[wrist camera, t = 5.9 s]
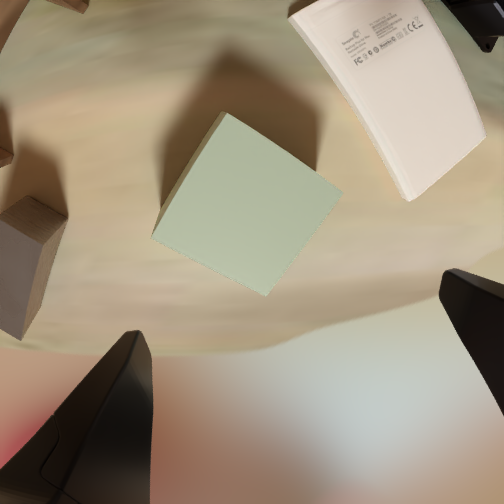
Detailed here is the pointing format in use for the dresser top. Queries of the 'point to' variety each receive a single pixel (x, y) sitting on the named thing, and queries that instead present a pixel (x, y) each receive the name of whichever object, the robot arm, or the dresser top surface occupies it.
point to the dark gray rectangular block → (26, 261)
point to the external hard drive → (396, 84)
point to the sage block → (244, 206)
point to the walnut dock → (3, 20)
